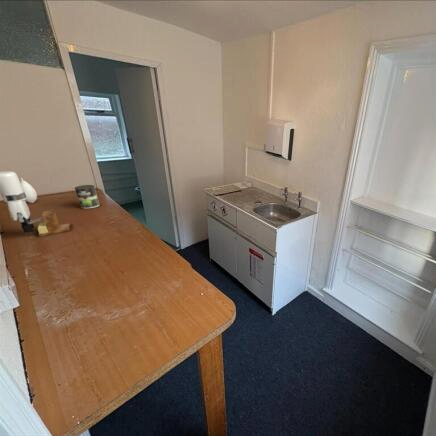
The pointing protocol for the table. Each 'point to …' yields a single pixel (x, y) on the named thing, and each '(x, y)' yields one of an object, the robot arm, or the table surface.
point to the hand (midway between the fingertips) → (29, 229)
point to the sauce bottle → (29, 192)
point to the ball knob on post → (37, 220)
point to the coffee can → (87, 196)
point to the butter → (42, 229)
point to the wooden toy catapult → (53, 224)
